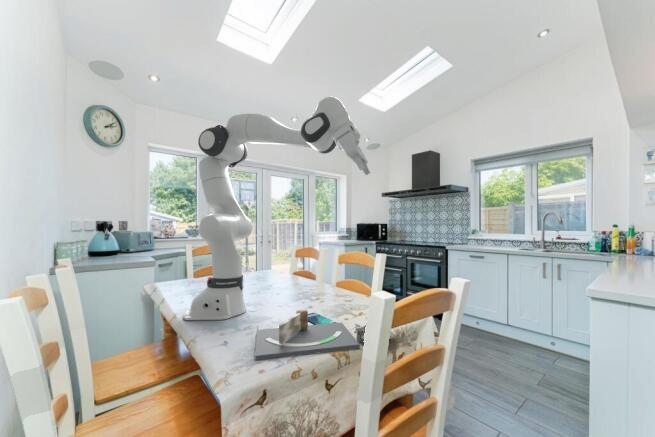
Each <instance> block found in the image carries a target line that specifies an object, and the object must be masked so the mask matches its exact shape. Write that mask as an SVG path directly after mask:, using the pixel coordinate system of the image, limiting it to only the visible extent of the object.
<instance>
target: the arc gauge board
mask: <svg viewBox="0 0 655 437" xmlns="http://www.w3.org/2000/svg"><path fill="white" fill-rule="evenodd" d="M255 342H256V344H255V354H254V355H255V356H254V357H255V358H254V360H255V361H257V360H265V359H267V360H268V359H274V358H275V359H276V358H283V357H290V356H299V355H300V356H301V354H302V355H308V354H310V353H311V354H317V352H320V353H328V352H327V351H329V352H335V351H344V350H355V349H360V347H361V343H359V342H357V338H355V337H354V335H353V334H352V333H351V332H350V331H349V329H348V328H347V327H346V325H345V324H344V323H343V322H336V323H329V324H318V325H313V324H310V325H309V324H308V328H307V329H302V330H299V331H298V332H297V333H295V334H294V335H293V336H291V337H290V338H289V339H287V340H286V341H285V342H283V343H282V344H280V343H279V327H275V328H273V327H272V328H263V329H257V330H256V340H255Z"/></svg>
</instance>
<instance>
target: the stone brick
mask: <svg viewBox="0 0 655 437" xmlns="http://www.w3.org/2000/svg"><path fill="white" fill-rule="evenodd" d="M308 314H309V311H308V310H306V309H299V310H296V312H295V315H293V316H291V317H290V318H288V319H286V320H285V321H283V322H281V323H280V324H279V325H278V328H279V343H280V344H282V343H283V342H285V341H286V340H287V339H289V338H290V337H291V336H293V335H294V334H295V333H297V332H298V331H299V330H302V329H307V328H308V325H309V322H308Z"/></svg>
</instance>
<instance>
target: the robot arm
mask: <svg viewBox="0 0 655 437" xmlns="http://www.w3.org/2000/svg"><path fill="white" fill-rule="evenodd" d="M316 105H317V106H316V108H315V110H314V111H313V113H312V114H311V116H309V117H308V118H306V119H305V120H304V121H303V122H302V124H301V128H300V129H295V128H291V127H288V126H286V125H284V124H283V123H281V122H279V121H278V120H276V119H275V118H273V117H272V116H269V115H266V114H262V113H240V114H235V115H232V116H231V117H230V118H228V120H227V124H226V126H224V125H221V124H218V125H215V126H214V127H212V126H211V127H208V128H206V129H204V130H203V131H202V132H201V133H200V134H199V137H198V142H197V144H198V146H199V149H200V150H201V151H202V152H203V153H204V154H205V155H207V156H205V157H203V158H202V159H201V160H200V161H199V163H198V168H199V169H198V171H199V178H200V179H199V180H200V185H201V187H202V190H203V196H204V199H205V203H206V204H207V206H209V207H210V208H211V210H213V211H214V213H212V214H211V213H210V214H208V215H205V216H204V217H202V218H201V219H200V221H199V222H198V233H199V236H200V237H201V238H202V239H203V240H204V242H206V244H207V246H208V248H209V251H210V254H211V258H212V259H211V260H212V276H209V277H207V280H206V287H205V288H204V289H203V290H202V291H201V292H200V293H198V294H197V295H196V296H195V297H194V298H193V299H192V302H191V304H190V309H188V310H187V311H185V313H184V314H183V320H185V321H215V320H216V321H217V320H220V321H221V320H222V321H223V320H228V319H230V318H232V317H235V316H236V317H237V316H239V315H241V314H244V313H245V312H246V311H247V308H246V303H245V299H244V281H245V280H244V279H245V278H244V275H243V256H242V254H241V253H240V252H239V251H238V249H237V247H236V242H237V241H241V240H244V239H246V238H249V236H251V234H252V232H253V228H254V227H253V222H252V221H251V219H250V218H249V217H247V216H246V214H245V213H244V211H243V210H242V209H241V206H240V205H239V202H238V201H237V198H236V197H235V193H234V190H233V187H232V183H231V179H230V175H229V171H228V170H229V168H234V167H236V166H237V165H240V164H241V163H243V162H244V161H245V160H246V159H247V157H248V155H249V149H248V147H247V145H246V144H247V143H250V144H258V145H259V144H261V145H262V144H263V145H265V144H266V145H269V144H271V145H288V146H294V147H295V146H296V147H304V148H309V149H312V150H315V151H316V152H318V153H320V154H329V153H330V152H332V151H333V150H334V149H335V148H336V147H337V149H339V150H342V151H343V152H344V153H345V155H346V156H347V157H348V158H350V159H351V160H352V162H354V163H355V165H356V166H357V167H358V169H359V170H360V171H363V173H364V175H365V176H368V175H370V174H371V171H370V169H369V167H368V163H369V162H368V159H367V157H366V155H365V154H364V152H363V151H362V149H361V147H360V146H359V144H360V138H361V133H360V131H359V130H358V129H357V126H356V124H355V123H354V122H353V120H351V118H350V114H349V112H348V110H347V108H346V107H345V105H344V104H343V103H342V101H341V100H340V99H339V98H338V97H336V96H332V95H330V96H326V97H324V98H322V99H321V100H319V102H318V103H317V104H316ZM235 241H236V242H235Z"/></svg>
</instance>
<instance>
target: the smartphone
mask: <svg viewBox="0 0 655 437" xmlns="http://www.w3.org/2000/svg"><path fill="white" fill-rule="evenodd" d="M309 323H310V325H318V324H329V323H337V322H336V321H334V320H332V319H329V318H327V317H325V316H323V315H321V314H318V313H316V312H311V313H308V324H309Z"/></svg>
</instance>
